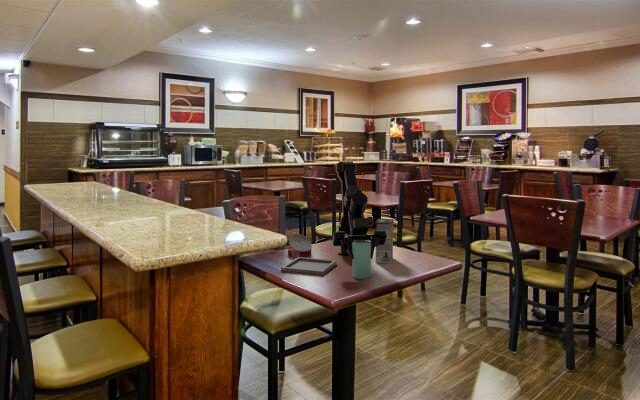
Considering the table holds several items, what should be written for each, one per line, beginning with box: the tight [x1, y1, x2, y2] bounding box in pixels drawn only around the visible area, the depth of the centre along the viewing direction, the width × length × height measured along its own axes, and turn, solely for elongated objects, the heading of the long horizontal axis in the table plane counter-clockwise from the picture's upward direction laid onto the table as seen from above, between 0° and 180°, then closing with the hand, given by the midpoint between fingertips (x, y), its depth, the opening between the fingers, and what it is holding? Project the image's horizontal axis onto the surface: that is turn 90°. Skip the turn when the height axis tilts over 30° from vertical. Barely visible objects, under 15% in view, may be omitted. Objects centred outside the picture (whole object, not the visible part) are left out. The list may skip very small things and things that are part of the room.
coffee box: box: [375, 218, 394, 264], centre depth 181 cm, size 9×6×16 cm
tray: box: [280, 257, 338, 277], centre depth 172 cm, size 16×16×2 cm
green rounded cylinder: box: [351, 241, 372, 280], centre depth 160 cm, size 6×6×12 cm
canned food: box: [287, 233, 313, 259], centre depth 191 cm, size 11×10×10 cm
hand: (362, 258), depth 159 cm, fingers closed on green rounded cylinder, 6 cm apart
